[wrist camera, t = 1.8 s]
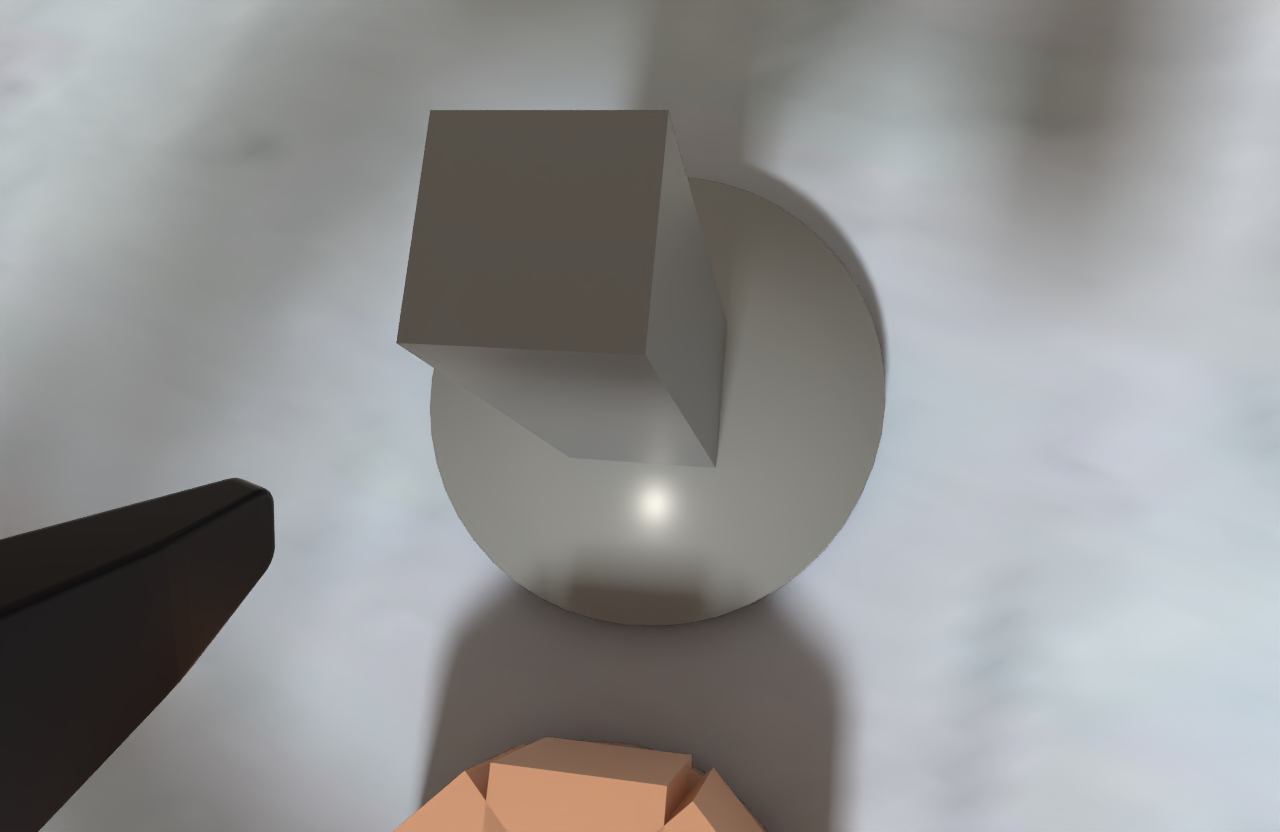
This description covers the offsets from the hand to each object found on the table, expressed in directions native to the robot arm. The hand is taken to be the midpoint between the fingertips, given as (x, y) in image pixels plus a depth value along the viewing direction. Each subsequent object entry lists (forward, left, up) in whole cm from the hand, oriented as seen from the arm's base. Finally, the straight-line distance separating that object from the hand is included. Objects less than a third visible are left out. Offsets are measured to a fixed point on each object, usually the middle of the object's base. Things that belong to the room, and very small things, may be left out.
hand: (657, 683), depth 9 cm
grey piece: (-3, +6, -13) cm, 15 cm away
